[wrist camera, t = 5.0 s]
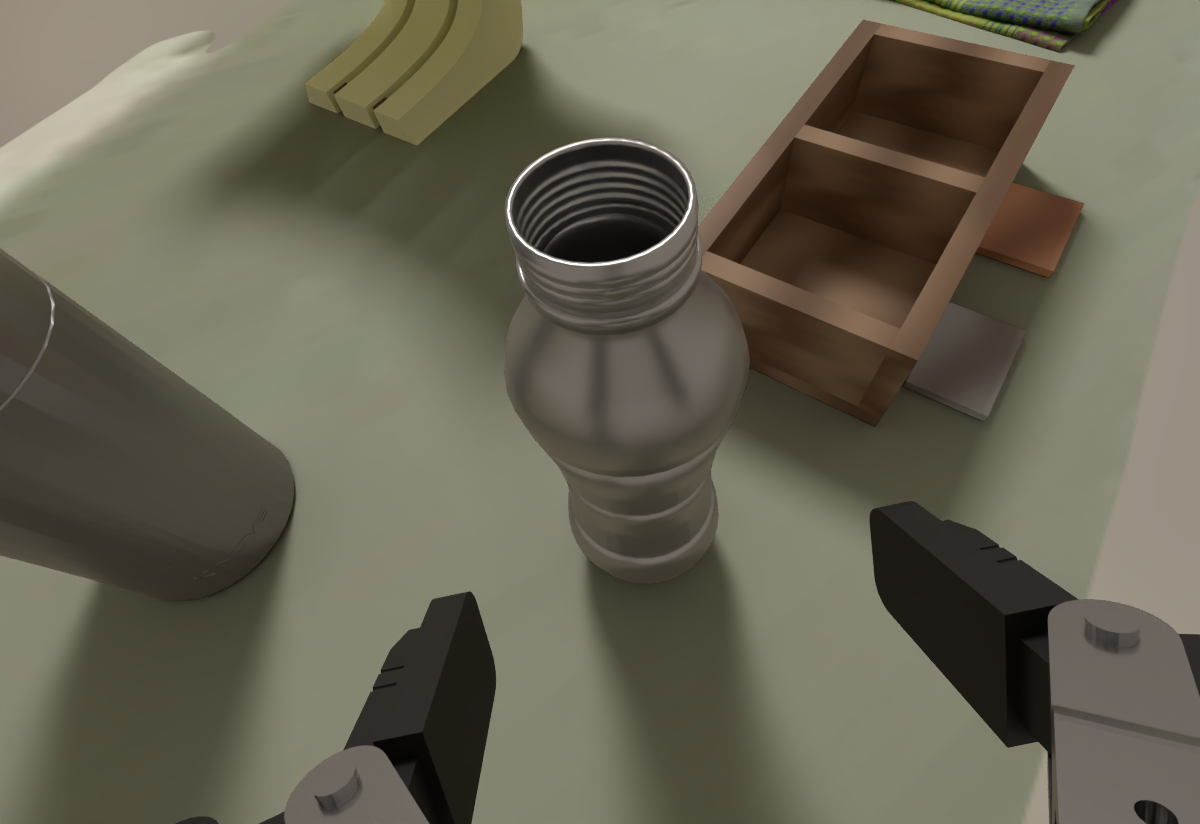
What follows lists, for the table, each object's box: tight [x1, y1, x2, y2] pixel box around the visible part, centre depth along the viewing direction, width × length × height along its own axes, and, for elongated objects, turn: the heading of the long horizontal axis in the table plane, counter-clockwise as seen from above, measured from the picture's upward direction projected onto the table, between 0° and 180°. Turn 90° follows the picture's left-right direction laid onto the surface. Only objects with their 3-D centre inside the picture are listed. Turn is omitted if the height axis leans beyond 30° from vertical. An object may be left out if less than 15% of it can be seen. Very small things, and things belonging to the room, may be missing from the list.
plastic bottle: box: [504, 138, 750, 584], centre depth 20 cm, size 6×7×20 cm
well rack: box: [698, 20, 1084, 426], centre depth 32 cm, size 16×23×6 cm
